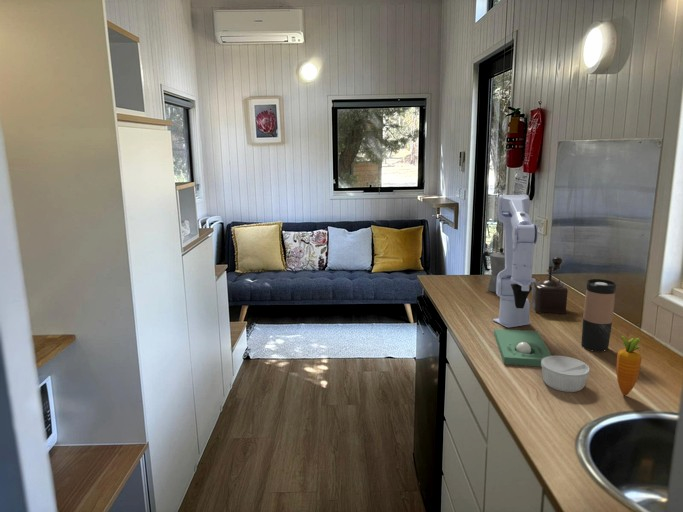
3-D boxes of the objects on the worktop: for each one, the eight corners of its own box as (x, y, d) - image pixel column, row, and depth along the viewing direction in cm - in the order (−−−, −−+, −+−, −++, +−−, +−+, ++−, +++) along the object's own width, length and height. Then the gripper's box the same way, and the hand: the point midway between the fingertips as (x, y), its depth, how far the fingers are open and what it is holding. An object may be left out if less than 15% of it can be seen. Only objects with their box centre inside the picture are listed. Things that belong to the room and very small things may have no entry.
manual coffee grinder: (568, 314, 175) (573, 265, 171) (535, 313, 177) (539, 264, 173) (558, 301, 190) (562, 256, 186) (528, 300, 192) (531, 255, 188)
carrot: (608, 391, 120) (614, 333, 117) (627, 390, 120) (634, 332, 117) (621, 401, 115) (628, 341, 112) (641, 400, 116) (649, 340, 112)
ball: (528, 356, 137) (527, 360, 141) (533, 343, 138) (533, 347, 142) (513, 350, 139) (514, 354, 142) (519, 338, 140) (519, 342, 144)
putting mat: (494, 334, 157) (494, 328, 156) (537, 337, 154) (537, 331, 154) (503, 363, 136) (504, 357, 135) (553, 367, 133) (554, 360, 133)
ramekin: (585, 399, 117) (587, 378, 115) (535, 387, 122) (537, 367, 121) (590, 380, 126) (592, 361, 125) (543, 370, 132) (545, 352, 131)
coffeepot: (519, 291, 204) (522, 248, 200) (508, 295, 198) (511, 252, 194) (485, 284, 215) (488, 243, 211) (474, 288, 208) (476, 246, 205)
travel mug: (606, 343, 149) (614, 280, 144) (611, 353, 142) (619, 286, 137) (578, 340, 151) (585, 278, 147) (581, 350, 144) (588, 284, 140)
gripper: (541, 270, 140) (538, 315, 143) (531, 259, 154) (528, 301, 157) (515, 269, 141) (512, 314, 144) (508, 258, 155) (505, 300, 158)
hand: (519, 307), depth 150 cm, fingers closed
